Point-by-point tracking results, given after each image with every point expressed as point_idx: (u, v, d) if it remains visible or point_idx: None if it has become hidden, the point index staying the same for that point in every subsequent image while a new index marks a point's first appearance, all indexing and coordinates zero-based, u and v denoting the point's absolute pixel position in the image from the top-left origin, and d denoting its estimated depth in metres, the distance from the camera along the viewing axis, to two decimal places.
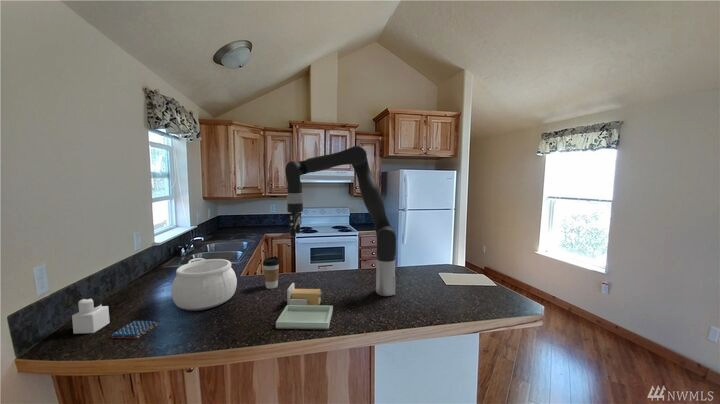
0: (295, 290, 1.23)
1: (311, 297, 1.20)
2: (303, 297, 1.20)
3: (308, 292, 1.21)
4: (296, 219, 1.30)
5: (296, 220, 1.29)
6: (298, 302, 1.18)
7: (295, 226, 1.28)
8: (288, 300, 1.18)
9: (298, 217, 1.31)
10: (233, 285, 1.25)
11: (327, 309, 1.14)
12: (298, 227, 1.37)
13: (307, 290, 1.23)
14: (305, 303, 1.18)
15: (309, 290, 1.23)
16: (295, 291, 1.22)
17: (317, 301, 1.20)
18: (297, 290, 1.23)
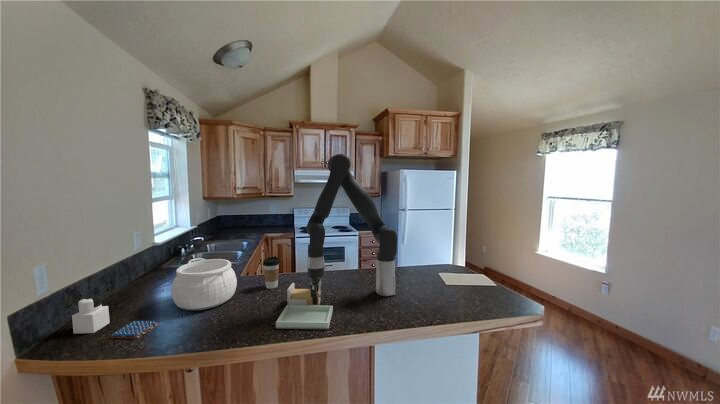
0: (295, 290, 1.23)
1: (311, 297, 1.20)
2: (303, 297, 1.20)
3: (307, 292, 1.21)
4: (317, 285, 1.19)
5: (318, 287, 1.19)
6: (298, 302, 1.18)
7: (317, 294, 1.19)
8: (288, 300, 1.18)
9: (319, 282, 1.20)
10: (233, 285, 1.25)
11: (327, 309, 1.14)
12: None
13: (307, 290, 1.23)
14: (305, 303, 1.18)
15: (309, 290, 1.23)
16: (295, 291, 1.22)
17: None
18: (297, 290, 1.23)
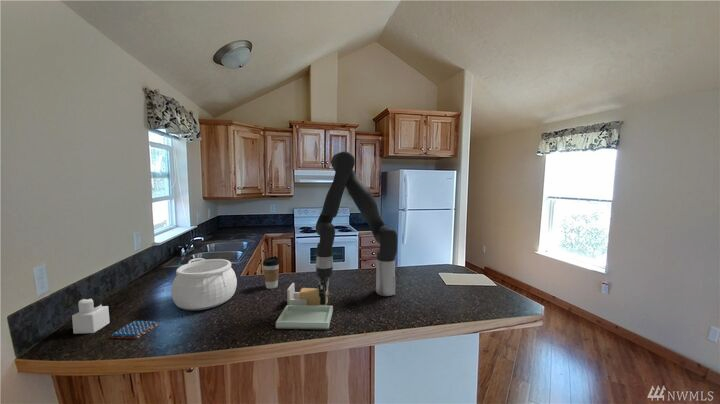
0: (302, 289, 1.23)
1: (319, 297, 1.19)
2: (311, 296, 1.19)
3: (315, 291, 1.21)
4: (326, 285, 1.19)
5: (326, 287, 1.19)
6: (298, 302, 1.18)
7: (325, 294, 1.19)
8: (288, 300, 1.18)
9: (327, 282, 1.20)
10: (233, 285, 1.25)
11: (327, 309, 1.14)
12: None
13: (315, 289, 1.23)
14: (305, 303, 1.18)
15: (317, 289, 1.23)
16: (303, 290, 1.22)
17: (325, 301, 1.20)
18: (305, 289, 1.23)
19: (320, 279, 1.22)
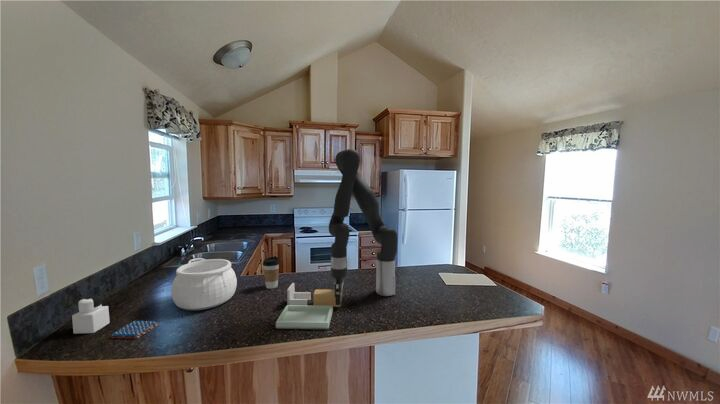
0: (316, 291, 1.22)
1: (333, 298, 1.19)
2: (325, 298, 1.19)
3: (329, 292, 1.20)
4: (341, 285, 1.19)
5: (341, 287, 1.18)
6: (298, 302, 1.18)
7: (340, 294, 1.17)
8: (288, 300, 1.18)
9: (343, 282, 1.20)
10: (233, 285, 1.25)
11: (327, 309, 1.14)
12: None
13: (328, 291, 1.22)
14: (305, 303, 1.18)
15: (330, 291, 1.22)
16: (317, 292, 1.21)
17: None
18: (318, 291, 1.22)
19: (335, 280, 1.22)
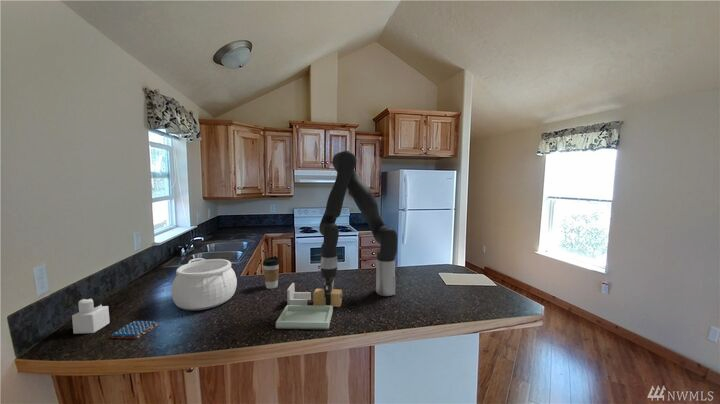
0: (316, 290, 1.23)
1: (332, 297, 1.19)
2: (324, 297, 1.20)
3: None
4: (331, 286, 1.19)
5: (331, 287, 1.19)
6: (298, 302, 1.18)
7: (330, 294, 1.19)
8: (288, 300, 1.18)
9: (332, 282, 1.20)
10: (233, 285, 1.25)
11: (327, 309, 1.14)
12: None
13: None
14: (305, 303, 1.18)
15: None
16: (317, 291, 1.22)
17: (338, 302, 1.19)
18: (318, 290, 1.23)
19: (325, 279, 1.22)
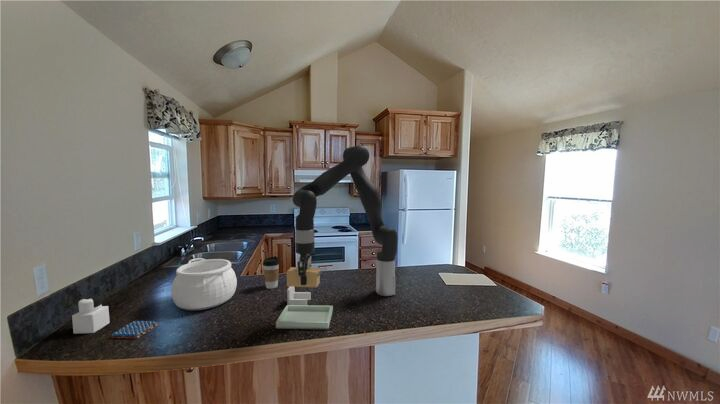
0: (291, 268, 1.08)
1: (308, 276, 1.04)
2: (299, 276, 1.05)
3: None
4: (306, 263, 1.04)
5: (307, 264, 1.04)
6: (298, 302, 1.18)
7: (306, 272, 1.04)
8: (288, 300, 1.18)
9: (309, 259, 1.05)
10: (233, 285, 1.25)
11: (327, 309, 1.14)
12: None
13: None
14: (305, 303, 1.18)
15: None
16: (291, 269, 1.07)
17: (315, 281, 1.04)
18: (293, 268, 1.08)
19: None
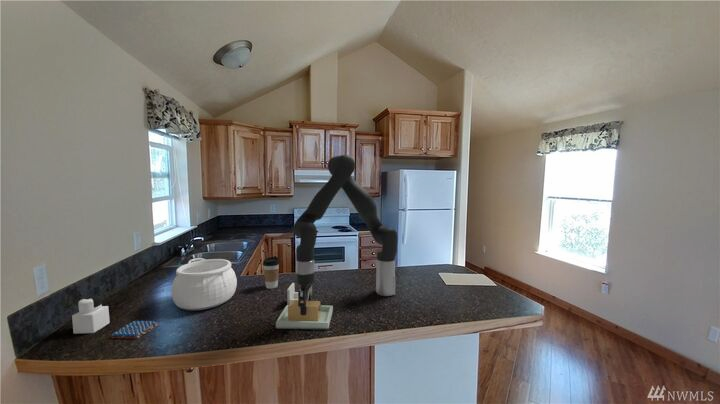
0: (292, 302, 1.09)
1: (309, 311, 1.06)
2: None
3: (306, 305, 1.07)
4: (307, 293, 1.05)
5: (307, 294, 1.04)
6: None
7: (306, 302, 1.03)
8: (288, 300, 1.18)
9: (309, 289, 1.06)
10: (233, 285, 1.25)
11: (327, 309, 1.14)
12: (309, 298, 1.12)
13: None
14: None
15: (307, 302, 1.09)
16: (292, 303, 1.08)
17: (316, 315, 1.06)
18: (294, 302, 1.09)
19: None
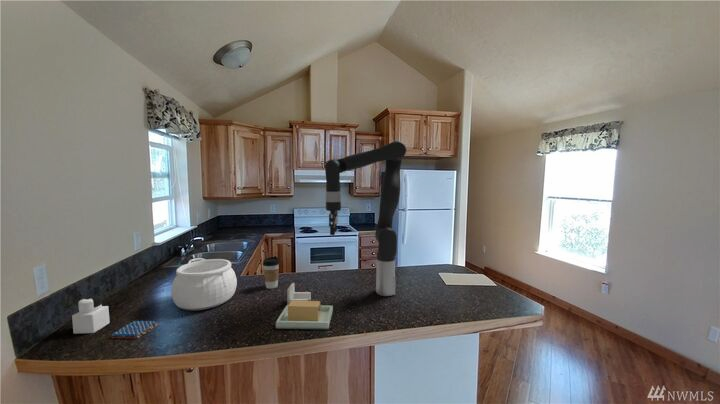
0: (292, 302, 1.09)
1: (309, 311, 1.06)
2: (300, 311, 1.06)
3: (306, 305, 1.07)
4: (335, 217, 1.29)
5: (335, 218, 1.29)
6: None
7: (334, 224, 1.28)
8: (288, 300, 1.18)
9: (337, 215, 1.31)
10: (233, 285, 1.25)
11: (327, 309, 1.14)
12: (335, 226, 1.36)
13: (305, 302, 1.09)
14: None
15: (307, 302, 1.09)
16: (292, 303, 1.08)
17: (316, 315, 1.06)
18: (294, 302, 1.09)
19: None
